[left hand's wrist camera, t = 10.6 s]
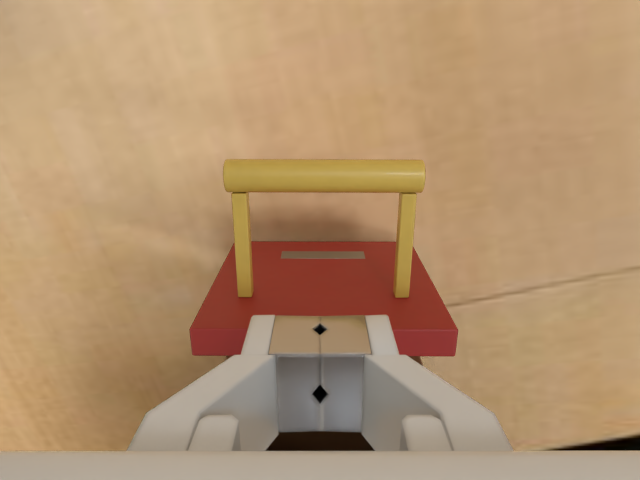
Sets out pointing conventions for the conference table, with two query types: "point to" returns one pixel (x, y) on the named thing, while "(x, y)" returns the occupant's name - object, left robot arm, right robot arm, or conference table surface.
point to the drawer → (324, 273)
